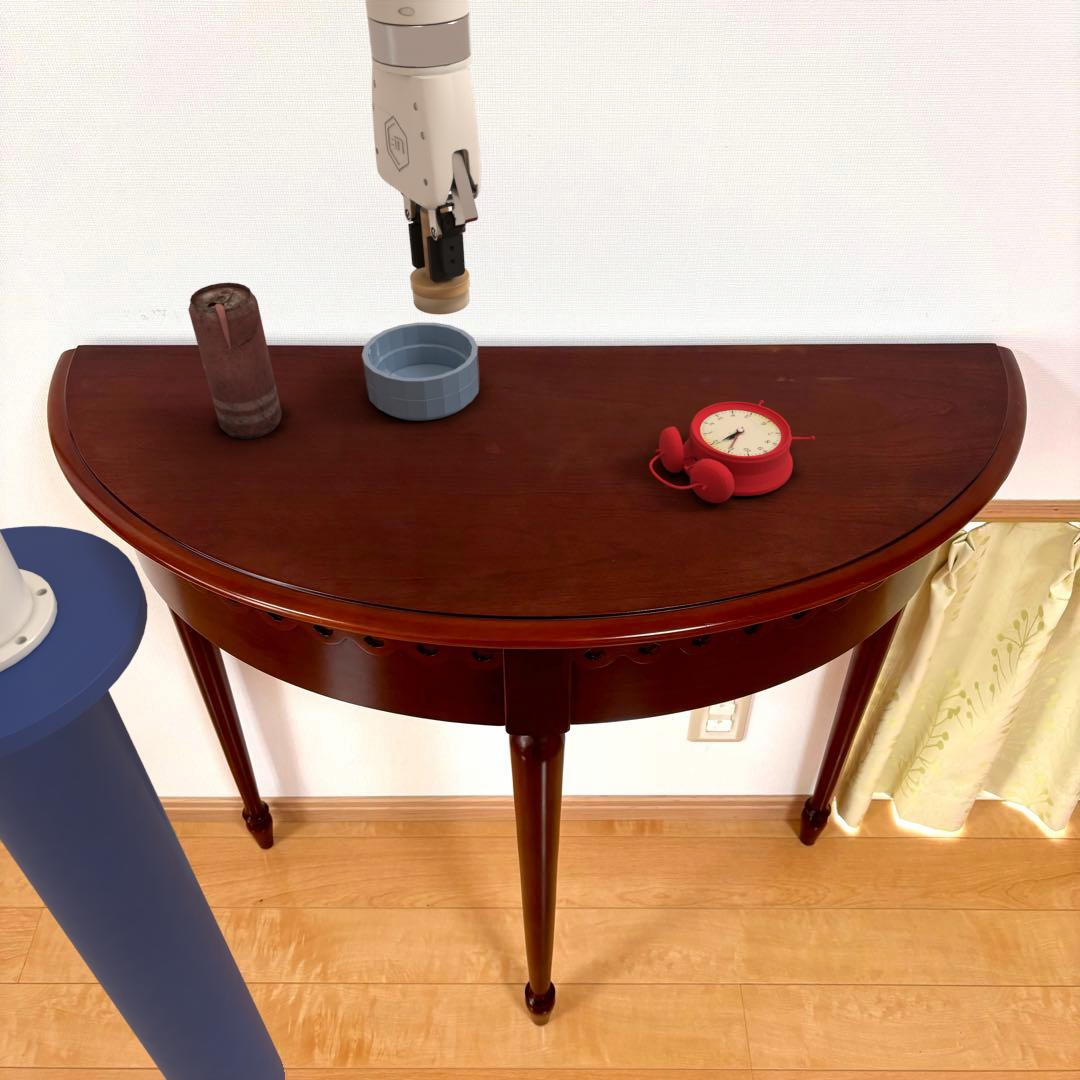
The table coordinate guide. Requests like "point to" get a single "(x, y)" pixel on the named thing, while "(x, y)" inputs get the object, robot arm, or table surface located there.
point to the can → (235, 359)
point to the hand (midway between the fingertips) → (438, 269)
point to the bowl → (421, 370)
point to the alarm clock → (730, 451)
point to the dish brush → (441, 294)
